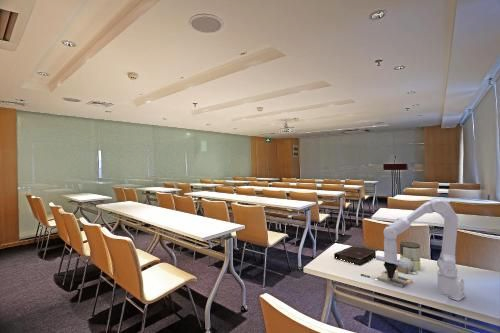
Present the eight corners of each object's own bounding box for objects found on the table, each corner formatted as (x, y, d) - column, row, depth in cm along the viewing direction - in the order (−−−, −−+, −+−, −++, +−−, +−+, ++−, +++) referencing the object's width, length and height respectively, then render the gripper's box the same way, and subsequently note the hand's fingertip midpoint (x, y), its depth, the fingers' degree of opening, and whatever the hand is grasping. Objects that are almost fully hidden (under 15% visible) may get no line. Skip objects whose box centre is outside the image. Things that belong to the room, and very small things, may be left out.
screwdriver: (382, 282, 133) (382, 278, 133) (381, 283, 132) (381, 279, 132) (361, 276, 140) (361, 273, 140) (360, 277, 139) (360, 274, 139)
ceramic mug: (393, 272, 146) (393, 258, 146) (399, 268, 151) (399, 255, 151) (415, 278, 138) (415, 264, 138) (420, 274, 143) (420, 260, 143)
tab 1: (390, 280, 132) (390, 271, 132) (387, 282, 131) (387, 273, 131) (384, 278, 135) (384, 269, 135) (381, 280, 133) (381, 271, 133)
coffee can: (396, 265, 156) (395, 242, 156) (409, 264, 159) (409, 241, 159) (410, 272, 146) (410, 247, 146) (425, 270, 149) (424, 245, 149)
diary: (333, 260, 169) (333, 252, 170) (352, 251, 186) (352, 244, 186) (361, 267, 156) (361, 258, 156) (379, 257, 172) (378, 250, 172)
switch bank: (412, 284, 130) (412, 280, 130) (402, 290, 124) (401, 285, 124) (388, 276, 140) (388, 272, 140) (377, 281, 134) (377, 277, 134)
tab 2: (398, 278, 135) (397, 269, 135) (395, 279, 133) (395, 270, 133) (392, 276, 137) (392, 267, 137) (389, 278, 136) (389, 269, 136)
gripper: (409, 253, 127) (410, 280, 127) (380, 246, 139) (380, 271, 139) (402, 255, 123) (403, 284, 123) (373, 248, 135) (373, 274, 135)
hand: (390, 278), depth 131 cm, fingers closed
